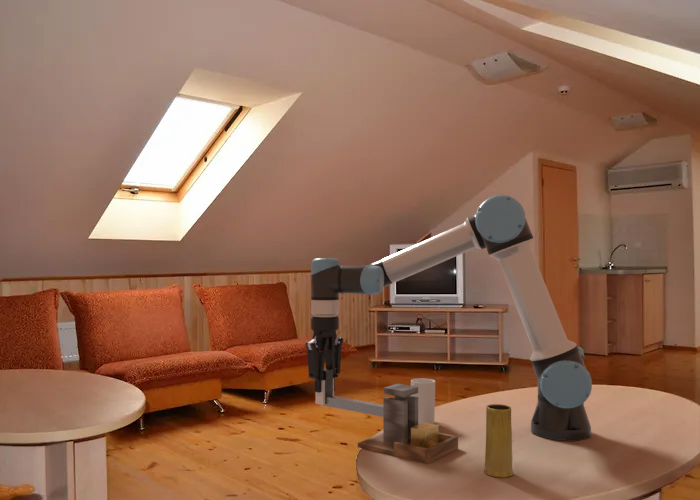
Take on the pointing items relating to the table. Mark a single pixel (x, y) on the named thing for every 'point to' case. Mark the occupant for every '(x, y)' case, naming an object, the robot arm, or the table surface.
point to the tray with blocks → (405, 429)
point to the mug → (425, 399)
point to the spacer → (425, 435)
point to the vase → (498, 441)
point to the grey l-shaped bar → (347, 399)
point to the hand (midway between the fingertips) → (324, 402)
